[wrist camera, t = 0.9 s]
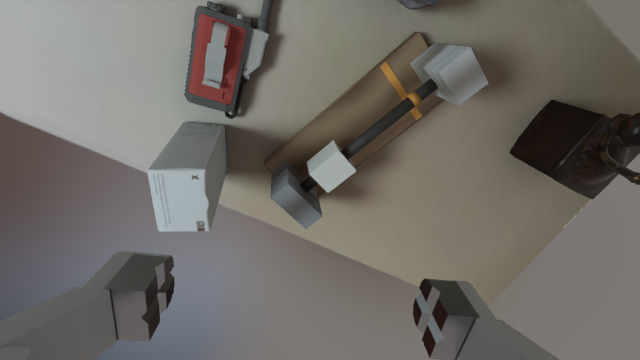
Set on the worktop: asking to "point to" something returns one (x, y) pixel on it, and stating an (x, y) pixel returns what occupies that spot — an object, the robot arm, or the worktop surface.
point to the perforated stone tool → (418, 3)
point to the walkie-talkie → (224, 56)
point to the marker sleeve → (330, 167)
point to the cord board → (373, 116)
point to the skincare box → (189, 178)
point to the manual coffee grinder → (580, 147)
